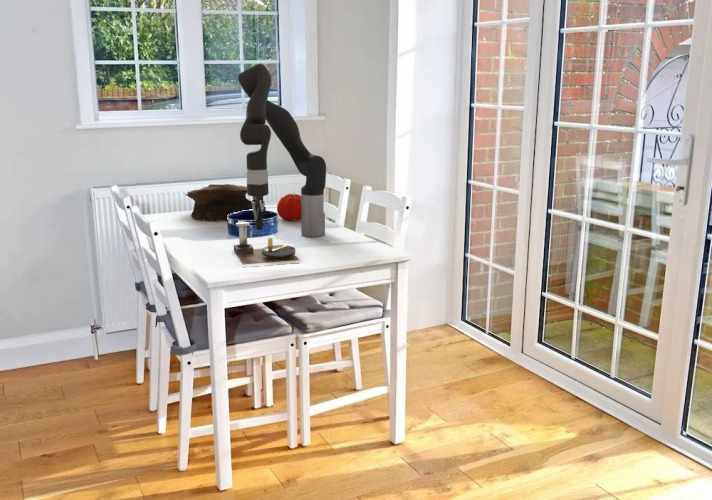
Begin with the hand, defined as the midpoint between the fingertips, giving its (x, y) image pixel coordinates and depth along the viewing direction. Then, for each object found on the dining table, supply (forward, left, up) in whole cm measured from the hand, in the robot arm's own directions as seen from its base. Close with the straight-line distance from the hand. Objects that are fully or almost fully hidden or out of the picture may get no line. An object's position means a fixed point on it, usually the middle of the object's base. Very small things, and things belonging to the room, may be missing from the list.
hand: (259, 229), depth 254 cm
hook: (+5, -6, -10) cm, 13 cm away
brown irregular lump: (+1, -83, -11) cm, 84 cm away
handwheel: (-6, +4, -8) cm, 11 cm away
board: (-2, 0, -11) cm, 11 cm away
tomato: (-27, -62, -11) cm, 69 cm away
